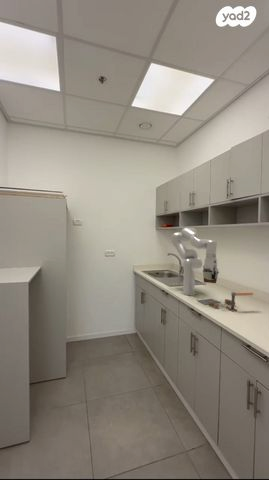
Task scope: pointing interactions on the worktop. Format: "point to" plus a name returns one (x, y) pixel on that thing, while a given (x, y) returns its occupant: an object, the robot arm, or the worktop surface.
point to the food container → (209, 276)
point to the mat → (207, 301)
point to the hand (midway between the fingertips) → (209, 277)
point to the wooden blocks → (226, 303)
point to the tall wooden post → (241, 293)
